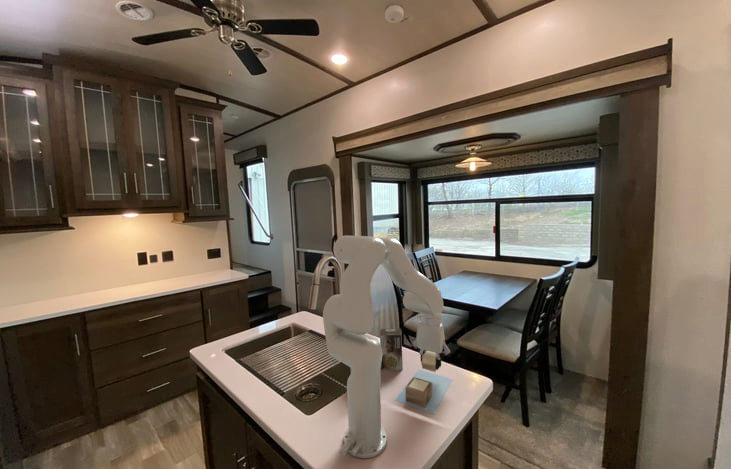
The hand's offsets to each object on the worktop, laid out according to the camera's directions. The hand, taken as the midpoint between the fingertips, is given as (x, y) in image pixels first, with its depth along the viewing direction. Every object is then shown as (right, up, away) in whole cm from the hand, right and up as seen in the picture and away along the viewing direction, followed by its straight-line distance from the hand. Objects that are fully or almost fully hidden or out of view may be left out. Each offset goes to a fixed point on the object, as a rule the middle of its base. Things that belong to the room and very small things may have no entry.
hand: (430, 365), depth 109 cm
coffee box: (-14, -7, +12) cm, 19 cm away
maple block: (0, -1, 0) cm, 1 cm away
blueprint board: (-3, -7, -5) cm, 9 cm away
